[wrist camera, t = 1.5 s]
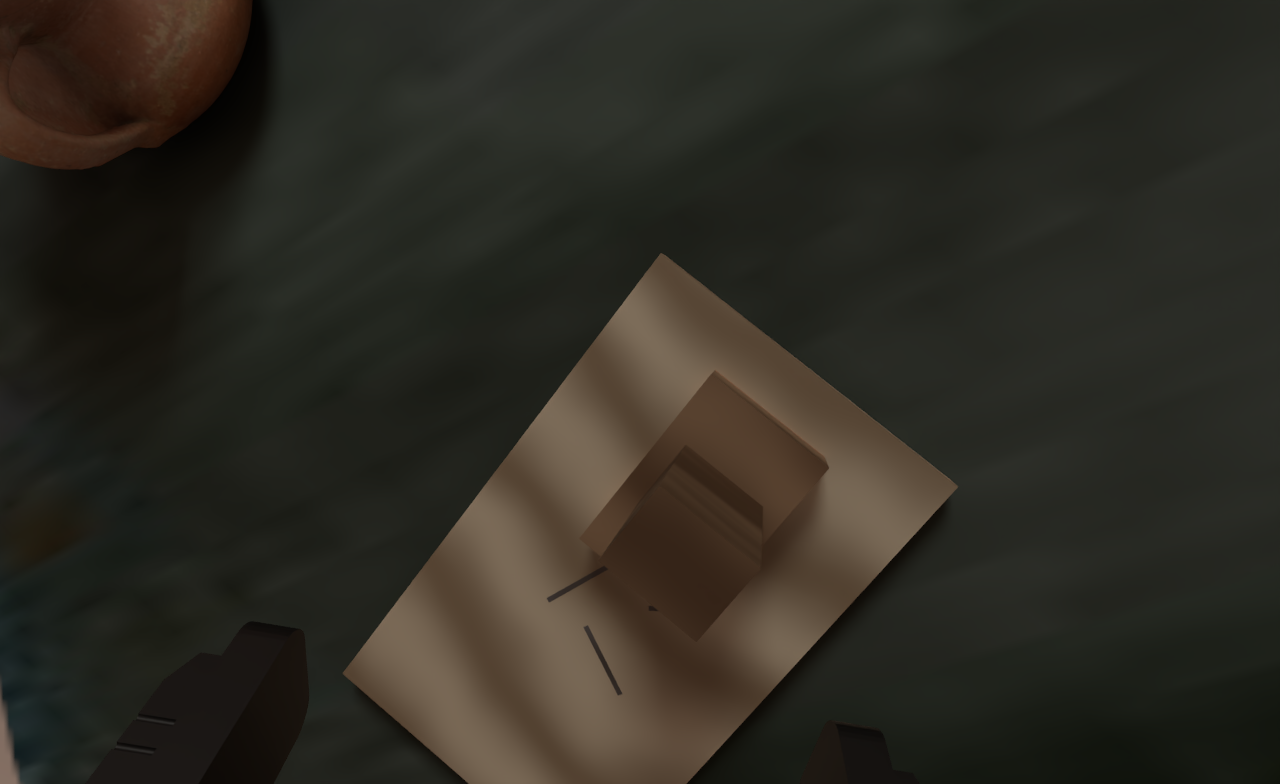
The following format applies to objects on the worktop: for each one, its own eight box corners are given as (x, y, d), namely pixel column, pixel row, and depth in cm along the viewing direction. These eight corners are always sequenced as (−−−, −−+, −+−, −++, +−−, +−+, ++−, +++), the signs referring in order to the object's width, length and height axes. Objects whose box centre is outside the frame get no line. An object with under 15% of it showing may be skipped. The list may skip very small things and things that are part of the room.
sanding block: (715, 369, 32) (692, 392, 23) (824, 456, 32) (849, 518, 22) (592, 522, 34) (521, 606, 24) (695, 607, 34) (664, 726, 24)
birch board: (665, 255, 34) (661, 252, 32) (949, 478, 33) (958, 486, 31) (358, 660, 39) (342, 673, 37) (597, 866, 38) (590, 889, 36)
